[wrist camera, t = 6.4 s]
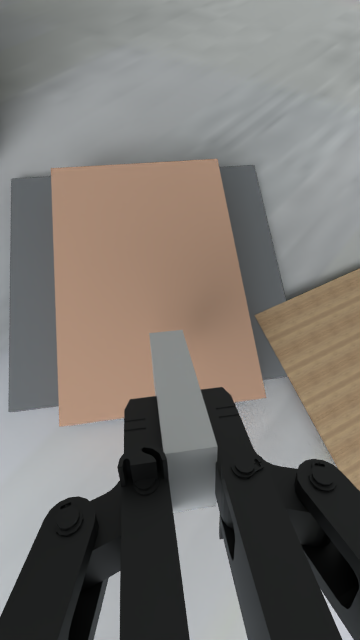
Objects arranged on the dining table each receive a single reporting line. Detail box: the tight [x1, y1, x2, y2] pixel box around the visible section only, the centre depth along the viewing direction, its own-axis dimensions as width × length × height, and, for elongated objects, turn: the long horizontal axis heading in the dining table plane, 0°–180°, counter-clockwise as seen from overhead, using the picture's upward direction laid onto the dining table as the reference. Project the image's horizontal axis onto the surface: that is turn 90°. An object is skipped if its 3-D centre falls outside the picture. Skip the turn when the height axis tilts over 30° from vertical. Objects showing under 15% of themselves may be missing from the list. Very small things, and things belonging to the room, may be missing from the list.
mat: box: [9, 165, 288, 412], centre depth 23 cm, size 18×16×1 cm
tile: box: [51, 159, 266, 427], centre depth 21 cm, size 11×2×16 cm
